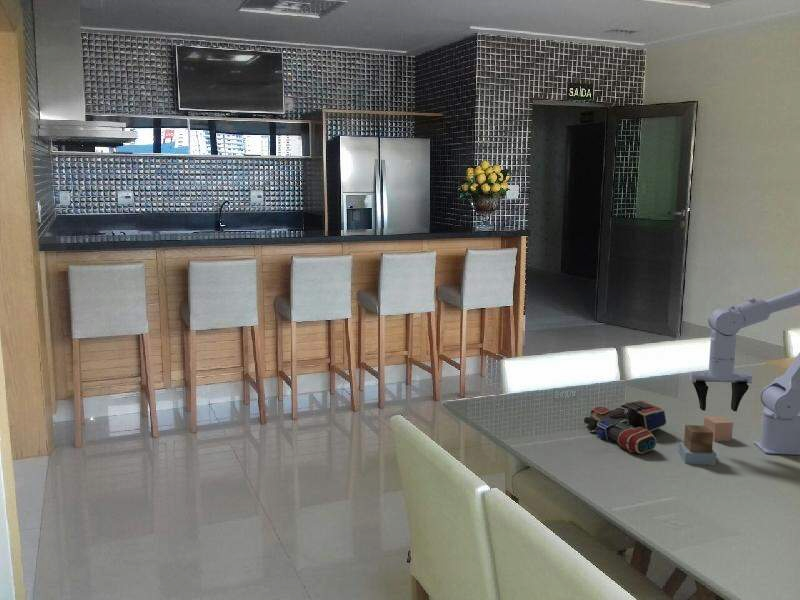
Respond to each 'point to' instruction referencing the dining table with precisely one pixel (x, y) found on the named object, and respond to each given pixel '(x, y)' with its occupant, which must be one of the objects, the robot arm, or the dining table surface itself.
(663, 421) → the red blue plastic piece
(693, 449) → the walnut block
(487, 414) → the dining table surface
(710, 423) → the terracotta block
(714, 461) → the blue slab
